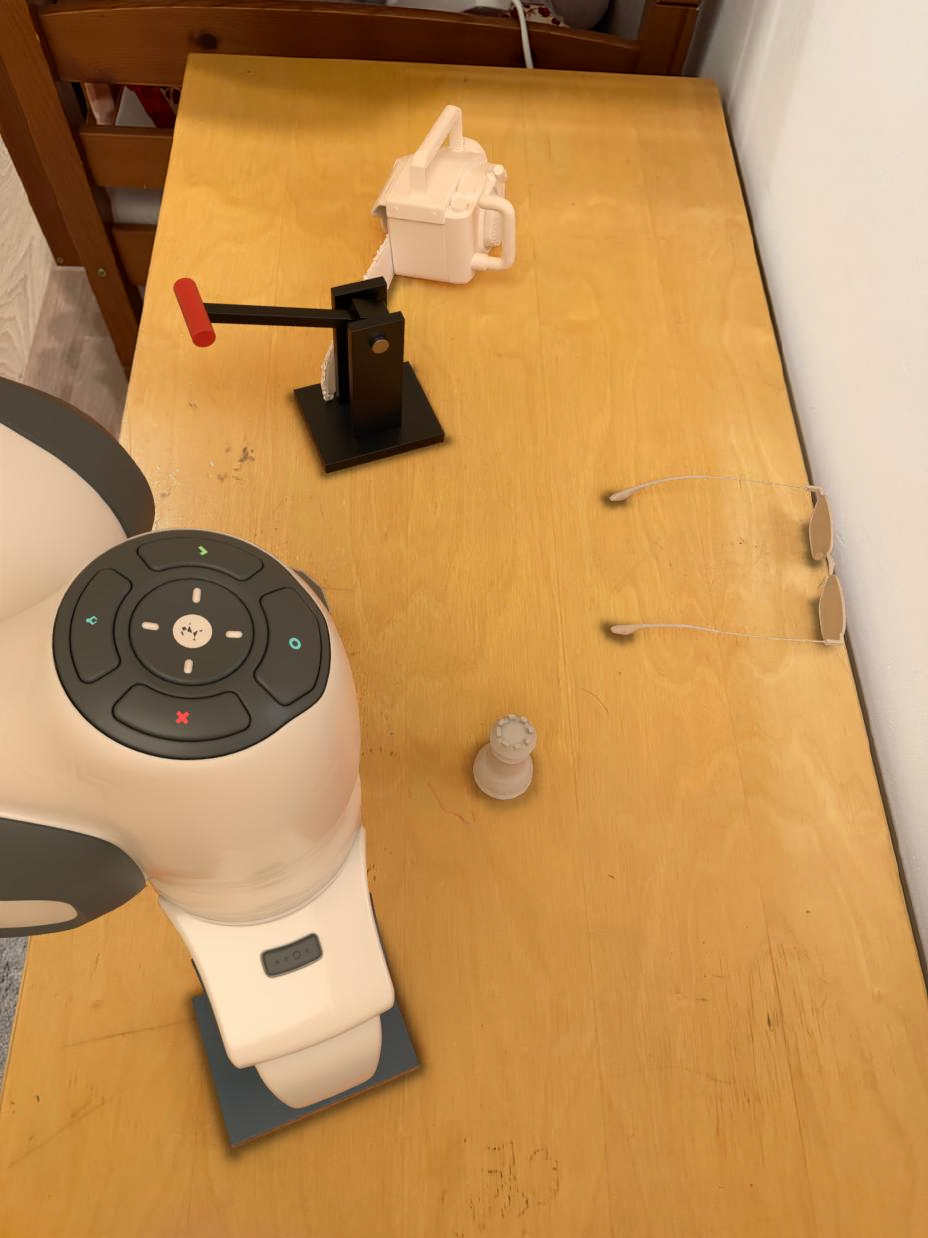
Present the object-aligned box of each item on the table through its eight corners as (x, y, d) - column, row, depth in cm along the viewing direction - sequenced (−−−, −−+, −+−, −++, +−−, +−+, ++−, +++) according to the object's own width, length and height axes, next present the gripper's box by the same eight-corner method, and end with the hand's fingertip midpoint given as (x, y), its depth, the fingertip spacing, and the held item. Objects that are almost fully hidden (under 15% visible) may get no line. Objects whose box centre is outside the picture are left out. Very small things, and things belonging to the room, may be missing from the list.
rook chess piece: (471, 800, 74) (481, 760, 67) (473, 743, 76) (482, 698, 69) (531, 803, 74) (548, 764, 67) (532, 747, 76) (547, 703, 69)
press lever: (189, 351, 72) (196, 325, 70) (170, 298, 74) (175, 272, 73) (390, 356, 81) (400, 333, 79) (367, 309, 83) (376, 285, 81)
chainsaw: (296, 409, 91) (268, 296, 80) (412, 179, 109) (401, 63, 98) (458, 438, 88) (451, 326, 78) (549, 198, 106) (553, 80, 96)
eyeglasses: (830, 664, 82) (850, 641, 78) (609, 644, 81) (620, 619, 78) (810, 509, 89) (827, 482, 86) (608, 489, 89) (617, 461, 85)
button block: (235, 1148, 62) (227, 1146, 58) (196, 1003, 66) (186, 993, 62) (418, 1068, 65) (420, 1062, 61) (370, 934, 69) (370, 921, 65)
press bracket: (326, 474, 87) (318, 360, 75) (294, 398, 91) (281, 278, 79) (444, 441, 90) (454, 327, 78) (408, 369, 94) (413, 249, 82)
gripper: (113, 626, 44) (167, 747, 56) (242, 1113, 35) (273, 1131, 47) (255, 587, 46) (278, 712, 58) (412, 1042, 37) (400, 1078, 49)
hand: (277, 904), depth 52 cm, fingers closed
